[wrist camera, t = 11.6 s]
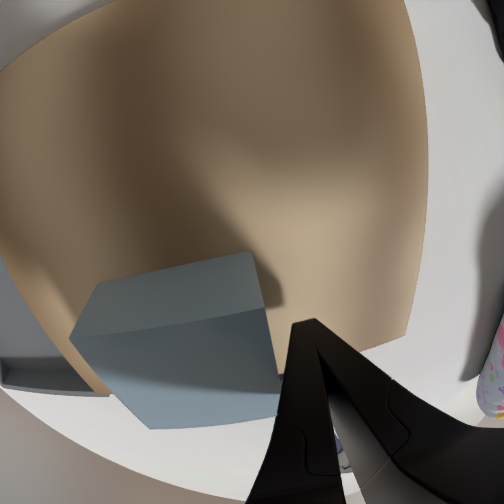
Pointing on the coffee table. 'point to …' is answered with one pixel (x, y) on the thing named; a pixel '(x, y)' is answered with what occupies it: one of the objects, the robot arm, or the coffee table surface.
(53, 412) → the coffee table surface
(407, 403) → the robot arm
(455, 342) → the coffee table surface
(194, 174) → the oak board
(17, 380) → the tray
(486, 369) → the pencil case
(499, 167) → the coffee table surface
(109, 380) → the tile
